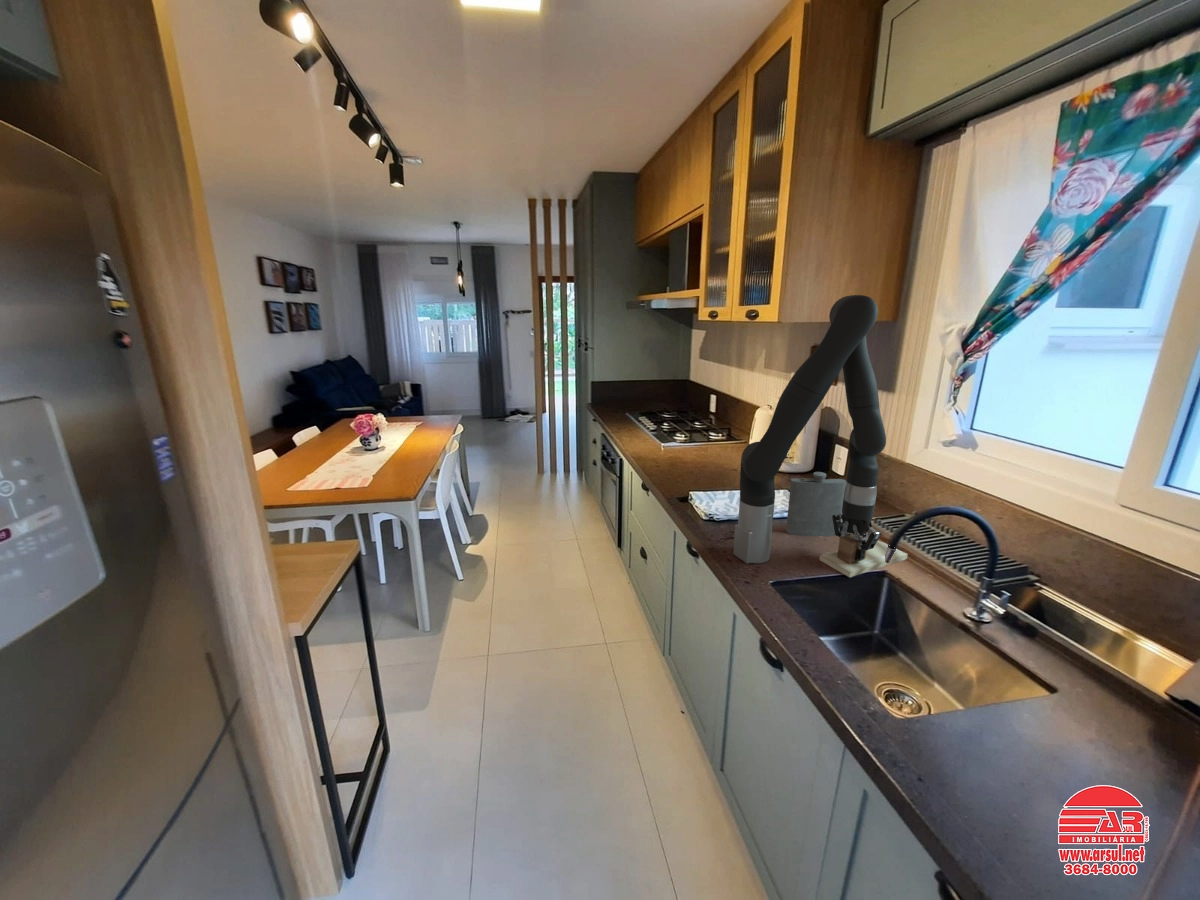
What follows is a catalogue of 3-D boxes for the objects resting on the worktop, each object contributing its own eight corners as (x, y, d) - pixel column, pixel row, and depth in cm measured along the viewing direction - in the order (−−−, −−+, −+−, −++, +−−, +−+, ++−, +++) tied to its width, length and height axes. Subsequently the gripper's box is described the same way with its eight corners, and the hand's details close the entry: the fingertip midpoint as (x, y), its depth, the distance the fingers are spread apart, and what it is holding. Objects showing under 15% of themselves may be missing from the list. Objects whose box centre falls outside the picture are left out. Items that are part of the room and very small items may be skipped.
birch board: (849, 577, 128) (850, 572, 127) (819, 560, 136) (820, 554, 136) (906, 558, 136) (907, 553, 135) (874, 543, 145) (875, 538, 144)
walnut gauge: (849, 563, 131) (852, 543, 129) (837, 557, 134) (839, 537, 133) (865, 558, 133) (868, 539, 131) (852, 552, 137) (855, 533, 135)
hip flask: (837, 530, 153) (844, 471, 147) (841, 536, 149) (850, 475, 143) (784, 529, 155) (790, 470, 149) (788, 535, 151) (794, 475, 145)
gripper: (827, 492, 134) (820, 548, 139) (873, 511, 121) (864, 572, 126) (846, 487, 136) (839, 542, 141) (894, 505, 124) (884, 565, 129)
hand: (851, 556), depth 134 cm, fingers closed on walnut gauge, 4 cm apart
